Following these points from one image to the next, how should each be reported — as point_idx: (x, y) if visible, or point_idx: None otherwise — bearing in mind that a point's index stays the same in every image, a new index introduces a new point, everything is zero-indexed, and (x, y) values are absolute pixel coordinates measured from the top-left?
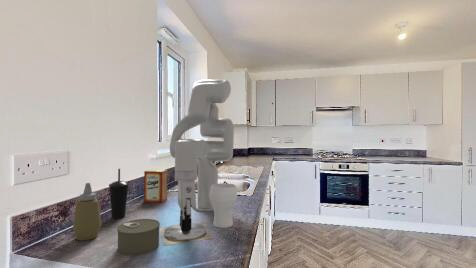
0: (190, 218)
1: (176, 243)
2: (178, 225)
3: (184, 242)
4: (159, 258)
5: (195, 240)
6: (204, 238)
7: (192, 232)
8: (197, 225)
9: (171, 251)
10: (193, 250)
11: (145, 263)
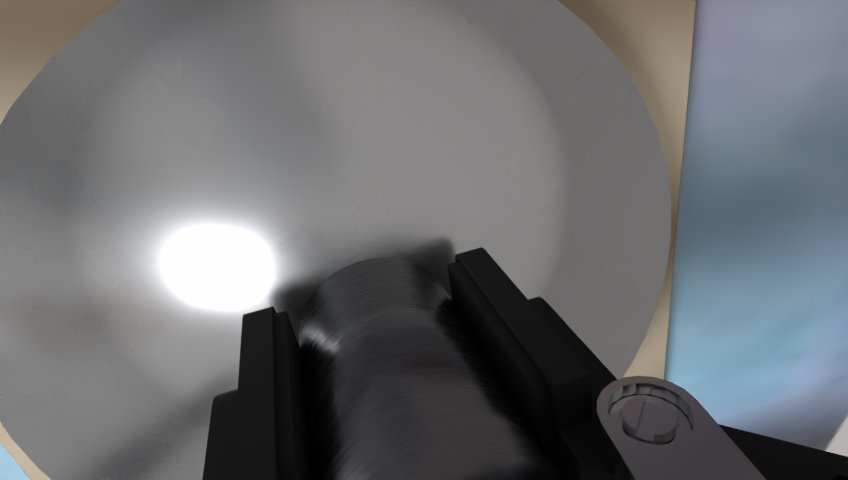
0: (672, 398)
1: (662, 340)
2: (158, 462)
3: (671, 267)
4: (814, 393)
5: (669, 141)
6: (658, 2)
7: (517, 209)
8: (146, 133)
9: (756, 343)
10: (837, 152)
11: (827, 447)
